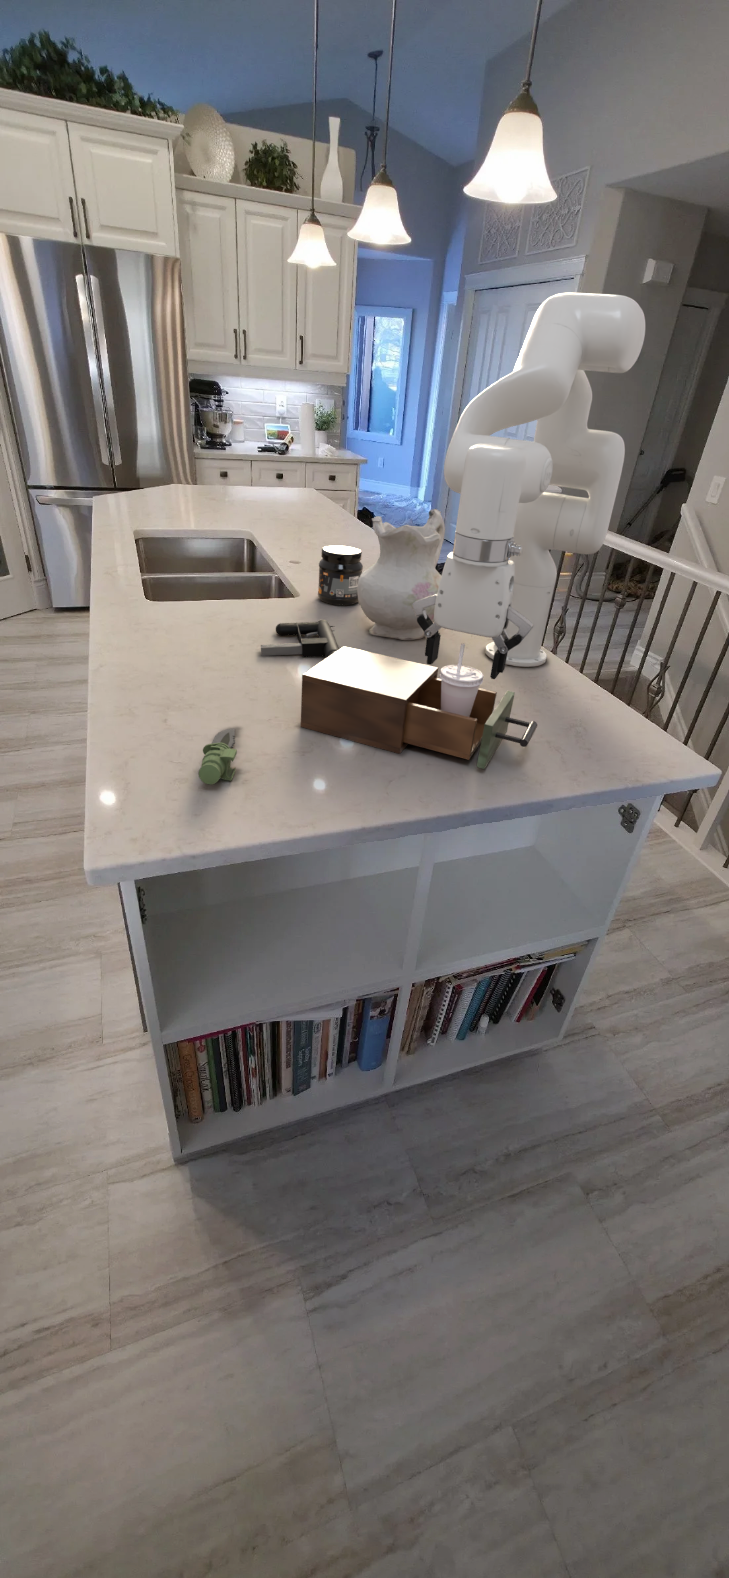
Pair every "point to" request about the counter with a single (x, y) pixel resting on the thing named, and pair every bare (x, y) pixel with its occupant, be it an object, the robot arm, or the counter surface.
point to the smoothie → (459, 686)
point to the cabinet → (362, 696)
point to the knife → (218, 758)
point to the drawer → (461, 724)
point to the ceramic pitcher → (402, 576)
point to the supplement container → (339, 574)
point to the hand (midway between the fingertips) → (463, 668)
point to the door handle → (304, 640)
